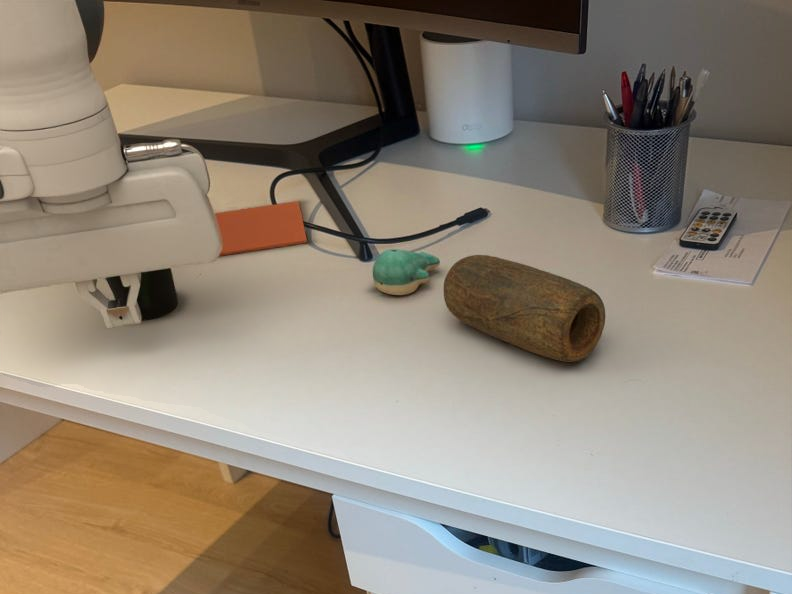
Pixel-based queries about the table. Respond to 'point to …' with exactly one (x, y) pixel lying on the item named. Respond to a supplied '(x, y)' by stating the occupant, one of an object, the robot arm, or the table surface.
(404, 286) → the whale figurine
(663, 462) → the table surface
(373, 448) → the table surface
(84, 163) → the robot arm
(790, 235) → the table surface
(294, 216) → the flat orange rectangular block
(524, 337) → the wooden vase
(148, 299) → the cup
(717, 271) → the table surface
